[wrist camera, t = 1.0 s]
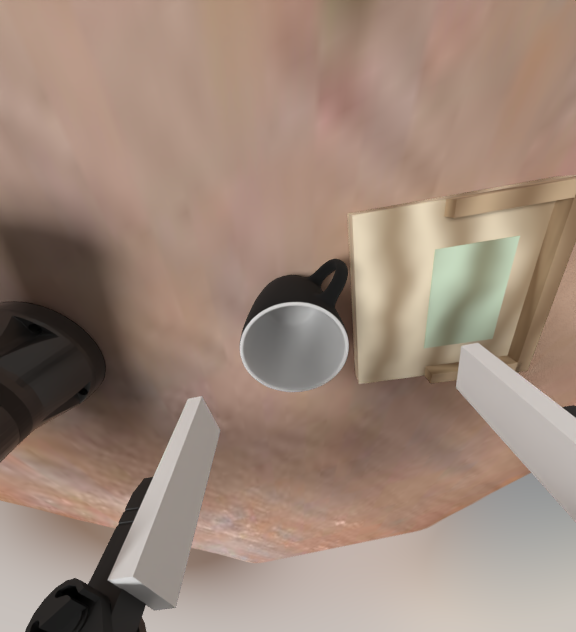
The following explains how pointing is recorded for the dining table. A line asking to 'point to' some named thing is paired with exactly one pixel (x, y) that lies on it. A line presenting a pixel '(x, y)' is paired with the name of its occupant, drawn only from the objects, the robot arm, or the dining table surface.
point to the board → (457, 277)
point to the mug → (296, 331)
